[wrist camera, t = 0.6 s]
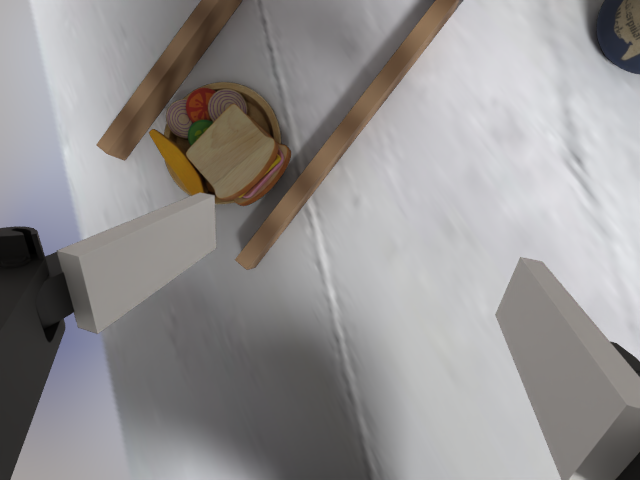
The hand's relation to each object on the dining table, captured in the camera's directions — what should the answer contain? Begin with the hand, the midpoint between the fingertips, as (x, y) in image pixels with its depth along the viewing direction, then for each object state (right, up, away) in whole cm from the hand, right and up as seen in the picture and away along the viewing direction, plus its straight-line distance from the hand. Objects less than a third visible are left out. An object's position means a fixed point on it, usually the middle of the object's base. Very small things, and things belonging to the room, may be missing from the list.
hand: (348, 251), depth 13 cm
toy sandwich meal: (-11, +10, +19) cm, 24 cm away
